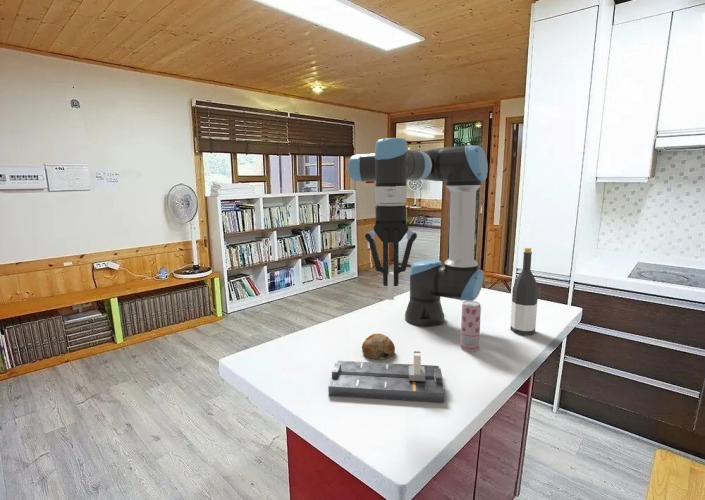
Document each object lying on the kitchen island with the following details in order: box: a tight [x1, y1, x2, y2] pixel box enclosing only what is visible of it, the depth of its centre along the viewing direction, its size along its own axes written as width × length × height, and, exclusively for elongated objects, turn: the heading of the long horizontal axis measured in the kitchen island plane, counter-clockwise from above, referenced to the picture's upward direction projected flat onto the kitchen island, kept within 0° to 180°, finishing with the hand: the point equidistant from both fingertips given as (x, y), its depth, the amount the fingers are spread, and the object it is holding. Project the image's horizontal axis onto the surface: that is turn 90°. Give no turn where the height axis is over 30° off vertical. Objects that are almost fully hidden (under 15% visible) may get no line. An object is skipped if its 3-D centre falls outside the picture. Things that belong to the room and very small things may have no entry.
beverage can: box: [459, 300, 482, 353], centre depth 118 cm, size 6×6×15 cm
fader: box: [409, 348, 425, 381], centre depth 95 cm, size 4×5×7 cm
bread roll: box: [361, 333, 396, 361], centre depth 116 cm, size 10×10×8 cm
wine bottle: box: [509, 247, 539, 336], centre depth 130 cm, size 8×8×30 cm
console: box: [327, 360, 445, 404], centre depth 97 cm, size 28×14×4 cm, turn 82°
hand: (390, 298), depth 94 cm, fingers closed
